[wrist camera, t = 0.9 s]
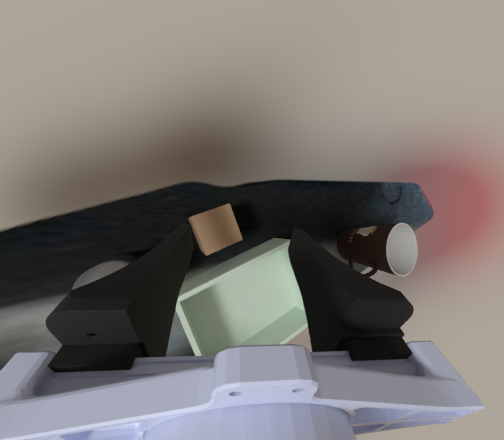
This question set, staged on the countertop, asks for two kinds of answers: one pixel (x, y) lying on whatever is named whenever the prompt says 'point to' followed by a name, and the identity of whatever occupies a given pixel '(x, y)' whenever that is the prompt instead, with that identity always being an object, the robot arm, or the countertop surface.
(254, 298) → the green tote
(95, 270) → the grey metal cylinder
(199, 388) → the robot arm
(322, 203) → the countertop surface
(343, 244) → the coffee mug
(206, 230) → the brown cube
